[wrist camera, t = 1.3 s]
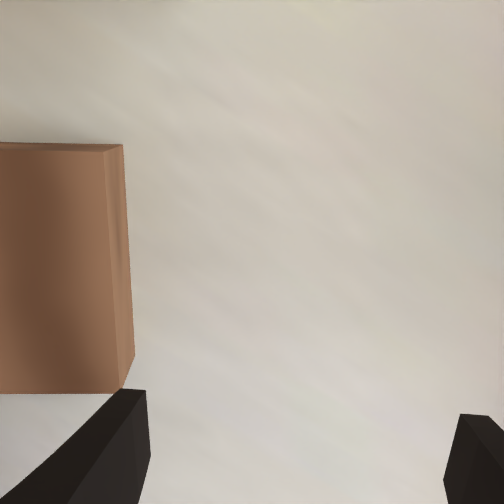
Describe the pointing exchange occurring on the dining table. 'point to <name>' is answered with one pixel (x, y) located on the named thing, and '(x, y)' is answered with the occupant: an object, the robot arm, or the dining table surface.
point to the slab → (64, 269)
